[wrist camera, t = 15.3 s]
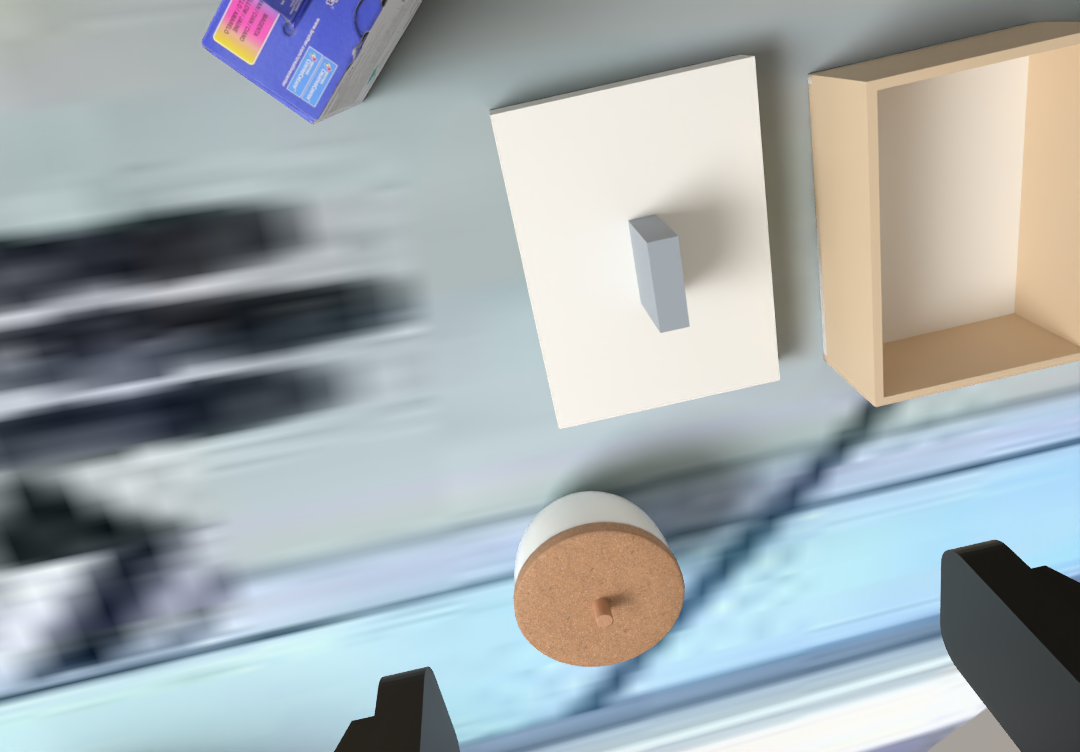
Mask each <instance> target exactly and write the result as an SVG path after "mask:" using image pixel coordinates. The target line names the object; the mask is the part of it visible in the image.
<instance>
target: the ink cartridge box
mask: <svg viewBox="0 0 1080 752" xmlns="http://www.w3.org/2000/svg"><path fill="white" fill-rule="evenodd" d="M422 1H423V0H222V2H221V4H220V6H219V8H218V10H217V12H216V14H215V16H214V18H213V20H212V22H211V23H210V25H209V28H208V30H207V32H206V34H205V36H204V38H203V39H202V41H201V45H202V47H204V48H205V49H207V50H208V51H209V52H210V53H211V54H212V55H214V56H215V57H217V58H218V59H220V60H221V61H223V62H224V63H226V64H227V65H228V66H230V67H231V68H233V69H234V70H235V71H237V72H238V73H240V74H241V75H243V76H244V77H246V78H247V79H248V80H250V81H251V82H253V83H254V84H256V85H257V86H258V87H260V88H261V89H263V90H264V91H266V92H267V93H268V94H270V95H271V96H273V97H274V98H275V99H277V100H278V101H280V102H281V103H283V104H284V105H285V106H287V107H288V108H290V109H291V110H293V111H294V112H295V113H297V114H298V115H300V116H301V117H302V118H304V119H305V120H307V121H308V122H310V123H311V124H315V123H317V122H320V121H322V120H324V119H326V118H329V117H331V116H333V115H336V114H338V113H340V112H342V111H344V110H347V109H349V108H351V107H354V106H356V105H358V104H360V103H361V102H362V101H363V100H364V98H365V96H366V95H367V93H368V92H369V90H370V88H371V87H372V85H373V83H374V81H375V80H376V78H377V76H378V75H379V73H380V71H381V70H382V68H383V66H384V65H385V63H386V61H387V60H388V58H389V56H390V55H391V53H392V51H393V50H394V48H395V46H396V45H397V43H398V41H399V40H400V38H401V36H402V35H403V33H404V31H405V30H406V28H407V26H408V25H409V23H410V21H411V19H412V18H413V16H414V14H415V12H416V11H417V9H418V7H419V6H420V4H421V2H422Z"/></svg>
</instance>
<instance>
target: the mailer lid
mask: <svg viewBox="0 0 1080 752" xmlns="http://www.w3.org/2000/svg"><path fill="white" fill-rule="evenodd" d="M489 113H490V118H491V122H492V127H493V131H494V136H495V140H496V145H497V149H498V154H499V159H500V163H501V168H502V172H503V177H504V181H505V186H506V191H507V195H508V200H509V204H510V209H511V213H512V218H513V222H514V227H515V232H516V236H517V241H518V245H519V250H520V254H521V259H522V263H523V268H524V273H525V277H526V282H527V286H528V291H529V295H530V300H531V304H532V309H533V314H534V318H535V323H536V327H537V332H538V336H539V341H540V345H541V350H542V355H543V359H544V364H545V368H546V373H547V377H548V382H549V387H550V391H551V396H552V400H553V405H554V409H555V414H556V418H557V422H558V426H559V429H562V428H567V427H571V426H576V425H580V424H585V423H589V422H594V421H598V420H603V419H607V418H612V417H616V416H621V415H625V414H630V413H634V412H639V411H643V410H648V409H652V408H657V407H661V406H666V405H670V404H675V403H679V402H684V401H688V400H693V399H697V398H702V397H706V396H711V395H715V394H720V393H724V392H729V391H733V390H738V389H742V388H747V387H751V386H756V385H760V384H765V383H769V382H774V381H778V380H780V376H779V363H778V350H777V337H776V324H775V311H774V298H773V285H772V272H771V259H770V246H769V233H768V220H767V207H766V194H765V181H764V168H763V155H762V142H761V129H760V116H759V103H758V90H757V77H756V65H755V56H748V55H736V56H731V57H727V58H722V59H718V60H714V61H709V62H705V63H700V64H696V65H691V66H687V67H682V68H678V69H673V70H669V71H664V72H660V73H655V74H651V75H646V76H642V77H637V78H633V79H629V80H624V81H620V82H615V83H611V84H606V85H602V86H597V87H593V88H588V89H584V90H579V91H575V92H570V93H566V94H561V95H557V96H552V97H548V98H543V99H539V100H535V101H530V102H526V103H521V104H517V105H512V106H508V107H503V108H499V109H494V110H490V111H489Z"/></svg>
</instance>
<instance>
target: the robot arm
mask: <svg viewBox="0 0 1080 752" xmlns="http://www.w3.org/2000/svg"><path fill="white" fill-rule="evenodd" d="M940 627H941V633H942V638H943V641H944V644H945V647H946V649H947V651H948V654H949V656H950V658H951V660H952V661H953V663H954V665H955V666H956V667H957V669H958V670H959V672H960V673H961V674H962V675H963V677H964V678H965V679H966V681H967V682H968V683H969V685H970V686H971V687H972V688H973V690H974V691H975V692H976V694H977V695H978V696H979V697H980V699H981V700H982V701H983V703H984V704H985V705H986V707H987V708H988V709H989V710H990V712H991V713H992V714H993V716H994V717H995V718H996V720H997V721H998V722H999V723H1000V725H1001V726H1002V727H1003V729H1004V730H1005V731H1006V733H1007V734H1008V735H1009V736H1010V738H1011V739H1012V740H1013V742H1014V743H1015V744H1016V746H1017V747H1018V748H1019V749H1020V751H1021V752H1080V583H1079V582H1077V581H1075V580H1073V579H1071V578H1069V577H1067V576H1065V575H1063V574H1061V573H1059V572H1057V571H1055V570H1053V569H1051V568H1049V567H1047V566H1041V567H1037V568H1032V569H1031V568H1030V567H1029V566H1028V565H1027V564H1026V563H1025V562H1023V561H1022V560H1021V559H1020V558H1019V557H1018V556H1017V555H1016V554H1015V553H1014V552H1013V551H1012V550H1011V549H1010V548H1009V547H1008V546H1006V545H1005V544H1004V543H1002V542H1001V541H998V540H991V541H987V542H982V543H978V544H973V545H969V546H965V547H960V548H956V549H951V550H947V551H945V552H944V554H943V555H942V560H941V609H940ZM334 752H460V750H459V745H458V740H457V737H456V733H455V730H454V728H453V725H452V722H451V719H450V717H449V714H448V711H447V708H446V706H445V703H444V700H443V697H442V695H441V692H440V689H439V686H438V684H437V681H436V678H435V675H434V673H433V671H432V669H431V668H430V667H424V668H420V669H416V670H411V671H407V672H402V673H398V674H394V675H389V676H385V677H382V678H381V680H380V682H379V687H378V694H377V701H376V709H375V716H372V717H368V718H363V719H359V720H354V721H352V722H351V724H350V725H349V727H348V729H347V730H346V732H345V734H344V736H343V737H342V739H341V741H340V743H339V744H338V746H337V748H336V750H335V751H334Z"/></svg>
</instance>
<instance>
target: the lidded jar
mask: <svg viewBox="0 0 1080 752" xmlns="http://www.w3.org/2000/svg"><path fill="white" fill-rule="evenodd" d="M514 587H515V589H514V609H515V617H516V620H517V623H518V626H519V628H520V630H521V632H522V633H523V635H524V636H525V638H526V639H527V640H528V641H529V643H530V644H531V645H533V646H534V647H535V648H536V649H537V650H538V651H540V652H541V653H543V654H545V655H547V656H548V657H550V658H552V659H555V660H557V661H559V662H562V663H566V664H571V665H576V666H584V667H594V666H606V665H612V664H616V663H620V662H623V661H626V660H629V659H632V658H634V657H636V656H638V655H640V654H642V653H644V652H645V651H647V650H648V649H650V648H652V647H653V646H655V645H656V644H657V643H658V642H659V641H660V640H661V639H662V638H663V637H664V636H665V635H666V634H667V633H668V632H669V631H670V629H671V628H672V627H673V625H674V623H675V622H676V620H677V618H678V616H679V614H680V611H681V609H682V606H683V601H684V589H685V586H684V580H683V575H682V572H681V570H680V568H679V565H678V563H677V560H676V558H675V557H674V555H673V554H672V552H671V550H670V548H669V546H668V543H667V541H666V539H665V538H664V536H663V535H662V533H661V532H660V530H659V529H658V527H657V526H656V524H655V523H654V522H653V521H652V519H651V518H650V517H649V516H648V515H647V514H646V513H645V512H644V511H643V510H642V509H640V508H639V507H638V506H636V505H635V504H634V503H632V502H630V501H629V500H627V499H625V498H623V497H620V496H617V495H614V494H611V493H606V492H600V491H584V492H577V493H573V494H569V495H566V496H564V497H561V498H559V499H557V500H555V501H554V502H552V503H550V504H549V505H548V506H546V507H545V508H544V509H542V510H541V511H540V512H539V513H538V514H537V515H536V516H535V517H534V519H533V520H532V521H531V523H530V524H529V525H528V527H527V529H526V530H525V532H524V534H523V537H522V539H521V541H520V545H519V548H518V552H517V555H516V562H515V572H514Z"/></svg>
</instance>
